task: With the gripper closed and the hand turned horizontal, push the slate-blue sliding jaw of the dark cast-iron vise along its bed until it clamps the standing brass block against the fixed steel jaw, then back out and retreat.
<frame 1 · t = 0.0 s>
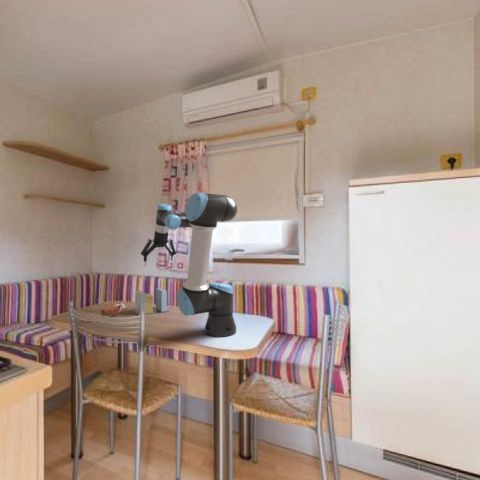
hand: (157, 265, 172), 28 cm above the table, tool tilted 20°, fingers open, 13 cm apart
free jaw: (161, 299, 174), point 8 cm above the table, slide at 0.0 cm
block: (147, 312, 170), point 1 cm above the table, touching vise
vise: (152, 313, 171), on the table
bull figurine: (113, 319, 159), on the table
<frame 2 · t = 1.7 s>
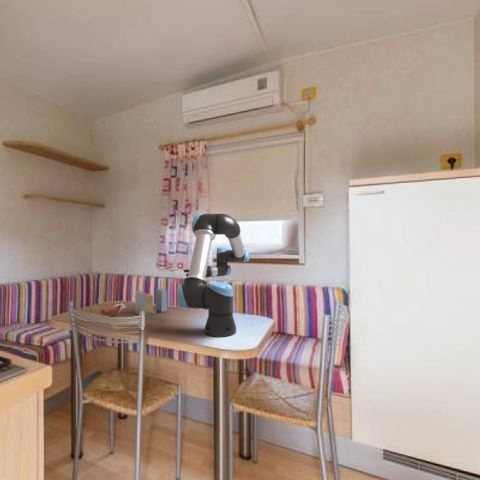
hand: (177, 273, 180), 22 cm above the table, tool horizontal, fingers open, 10 cm apart
nothing on the table moved.
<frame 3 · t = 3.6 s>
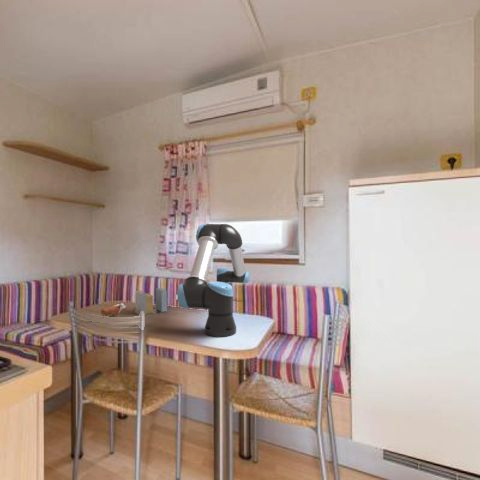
hand: (175, 297, 179), 8 cm above the table, tool horizontal, fingers closed
nothing on the table moved.
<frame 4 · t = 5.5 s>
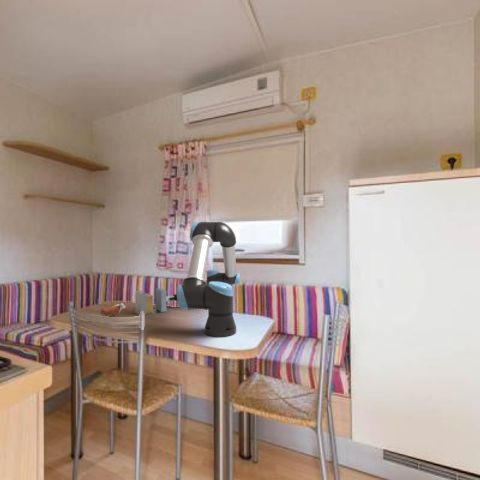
hand: (163, 299, 176), 7 cm above the table, tool horizontal, fingers closed
free jaw: (160, 299, 174), point 8 cm above the table, slide at 0.2 cm, touching gripper
everything else where it was.
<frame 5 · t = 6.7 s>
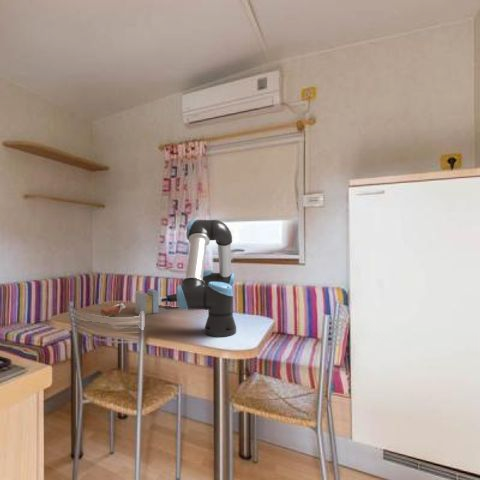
hand: (155, 300, 173), 7 cm above the table, tool horizontal, fingers closed
free jaw: (153, 300, 171), point 8 cm above the table, slide at 4.9 cm, touching block, gripper
block: (147, 312, 170), point 1 cm above the table, touching free jaw, vise
everything else where it was.
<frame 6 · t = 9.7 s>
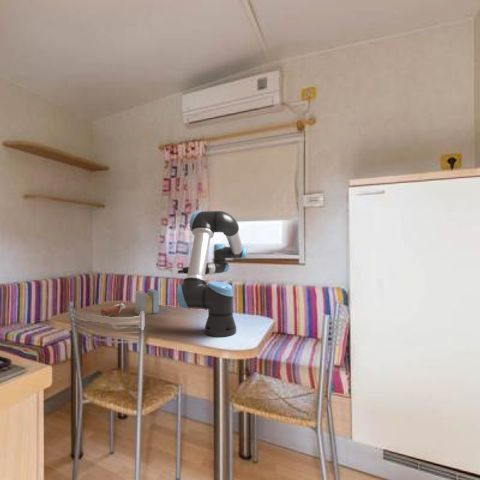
hand: (172, 271, 177), 24 cm above the table, tool horizontal, fingers closed
free jaw: (153, 300, 172), point 8 cm above the table, slide at 4.8 cm
block: (146, 312, 170), point 1 cm above the table, touching vise
everything else where it was.
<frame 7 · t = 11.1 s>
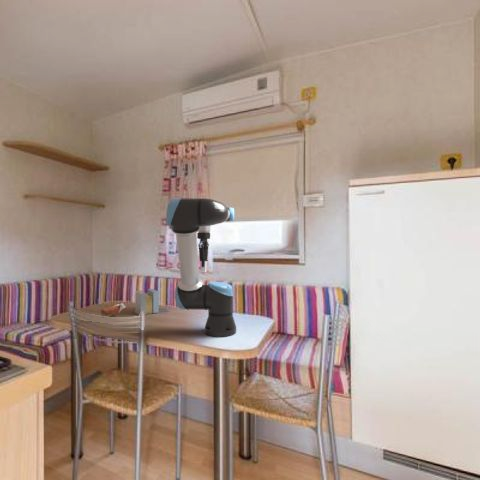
hand: (203, 272, 173), 24 cm above the table, tool pointing down, fingers closed
nothing on the table moved.
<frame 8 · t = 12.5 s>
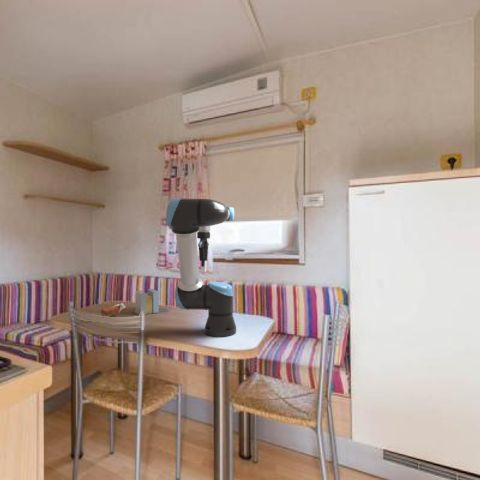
hand: (203, 271, 172), 24 cm above the table, tool pointing down, fingers closed
nothing on the table moved.
at the end: free jaw slide at 4.8 cm; block tilted 0°; block 0.1 cm from the target spot on the vise, point 1.2 cm above the vise's base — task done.
